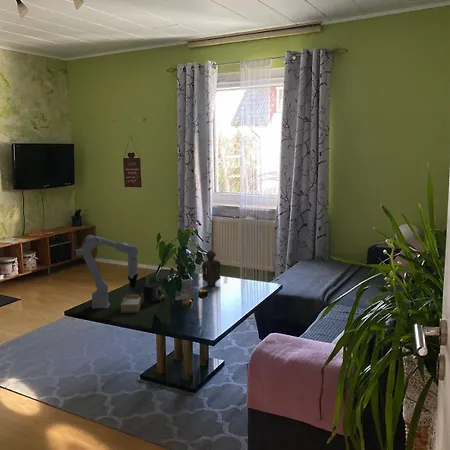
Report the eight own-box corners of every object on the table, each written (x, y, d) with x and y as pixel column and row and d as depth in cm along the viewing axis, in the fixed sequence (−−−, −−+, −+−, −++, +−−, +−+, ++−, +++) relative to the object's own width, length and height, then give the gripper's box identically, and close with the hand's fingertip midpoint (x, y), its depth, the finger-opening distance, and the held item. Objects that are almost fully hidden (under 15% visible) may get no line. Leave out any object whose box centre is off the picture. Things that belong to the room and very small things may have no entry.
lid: (120, 305, 280) (120, 301, 280) (124, 298, 293) (124, 294, 292) (138, 305, 280) (138, 301, 280) (140, 298, 293) (140, 294, 293)
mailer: (121, 312, 281) (120, 306, 280) (124, 305, 293) (124, 298, 293) (138, 312, 281) (138, 306, 280) (141, 305, 294) (140, 298, 293)
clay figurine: (218, 283, 339) (218, 248, 335) (222, 287, 330) (222, 251, 325) (200, 284, 336) (200, 249, 331) (204, 288, 326) (204, 252, 322)
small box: (151, 304, 296) (151, 287, 294) (143, 302, 299) (143, 285, 297) (162, 299, 305) (162, 283, 303) (154, 297, 308) (154, 281, 306)
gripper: (137, 268, 287) (138, 290, 289) (140, 261, 301) (141, 282, 304) (125, 268, 287) (126, 290, 289) (129, 262, 301) (130, 283, 303)
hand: (133, 286), depth 296 cm, fingers open, 3 cm apart
